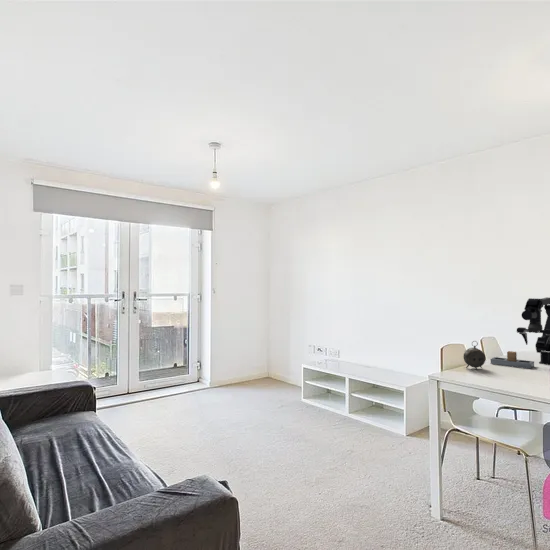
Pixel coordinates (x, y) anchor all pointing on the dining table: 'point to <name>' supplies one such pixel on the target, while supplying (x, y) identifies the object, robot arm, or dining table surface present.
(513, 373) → the dining table surface
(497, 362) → the rail
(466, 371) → the dining table surface
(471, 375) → the dining table surface
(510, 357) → the square peg
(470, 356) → the alarm clock
